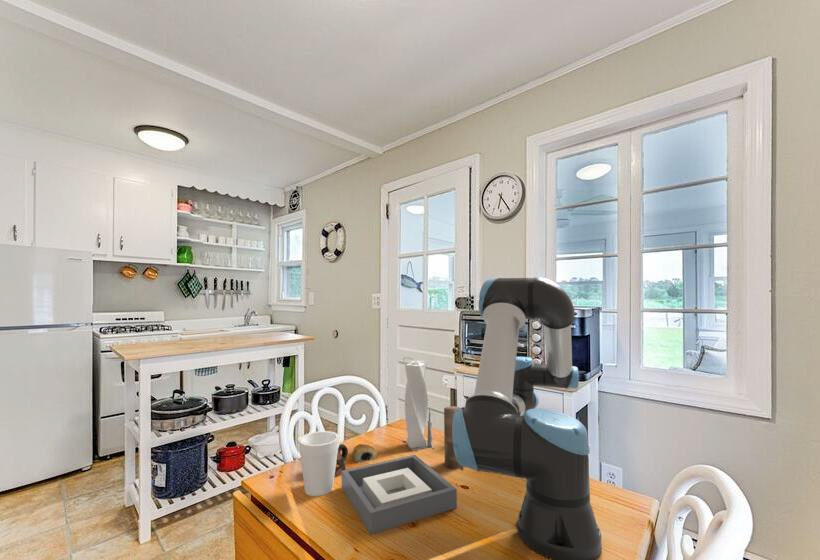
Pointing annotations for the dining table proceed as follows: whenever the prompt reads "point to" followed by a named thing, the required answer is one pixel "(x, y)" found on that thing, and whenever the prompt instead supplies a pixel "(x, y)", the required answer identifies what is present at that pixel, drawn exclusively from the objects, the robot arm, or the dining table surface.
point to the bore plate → (393, 487)
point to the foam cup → (318, 461)
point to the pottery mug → (341, 459)
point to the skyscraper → (417, 406)
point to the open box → (402, 510)
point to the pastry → (364, 453)
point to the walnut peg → (450, 438)
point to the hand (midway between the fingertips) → (473, 424)
